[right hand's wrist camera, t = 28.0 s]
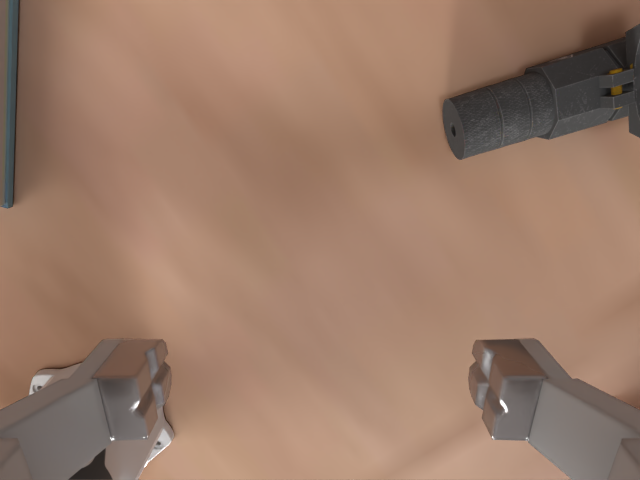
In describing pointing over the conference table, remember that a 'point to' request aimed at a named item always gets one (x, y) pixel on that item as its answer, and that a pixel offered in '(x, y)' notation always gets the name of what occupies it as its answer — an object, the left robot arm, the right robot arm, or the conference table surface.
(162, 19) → the conference table surface
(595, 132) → the conference table surface
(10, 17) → the book
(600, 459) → the right robot arm
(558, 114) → the laser sight
